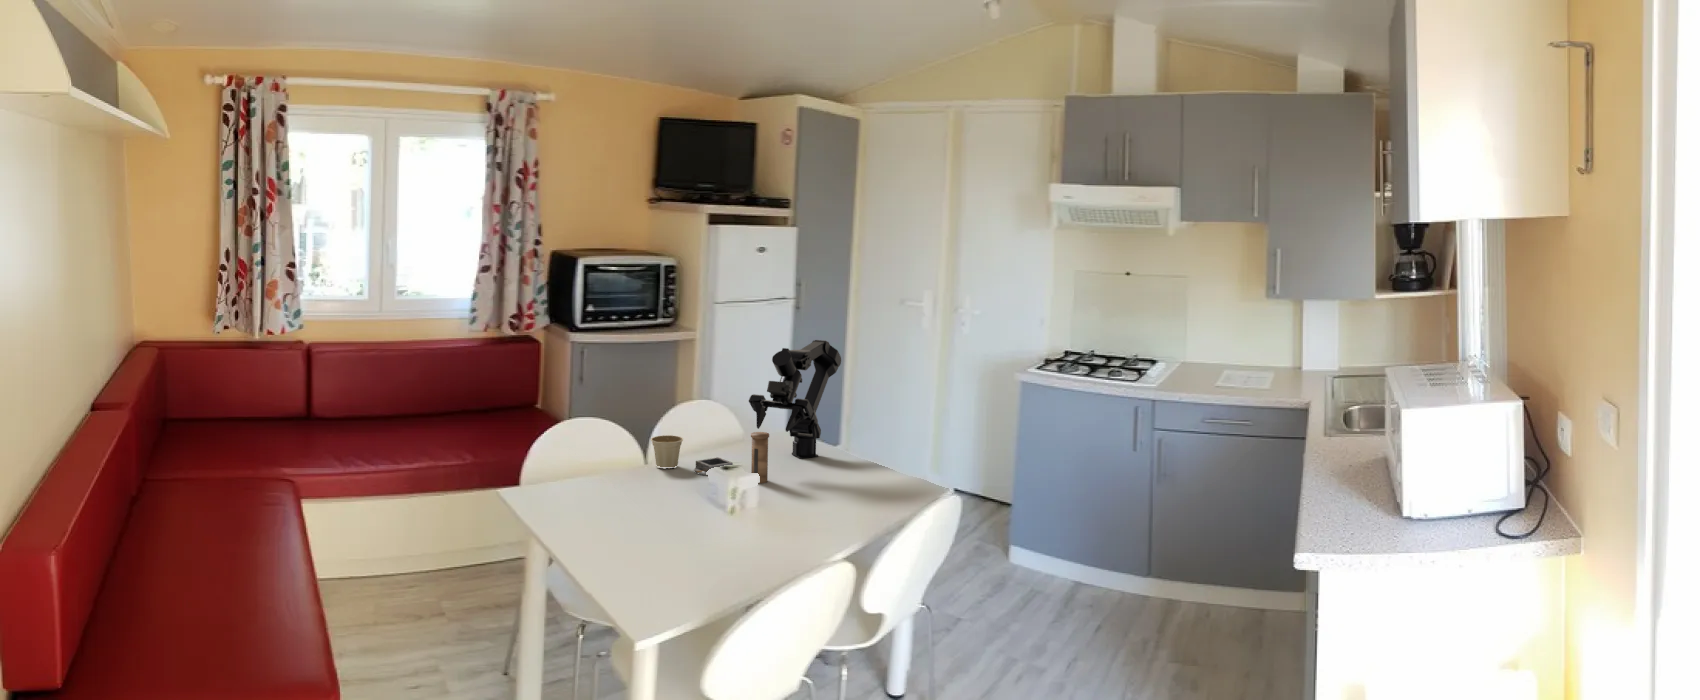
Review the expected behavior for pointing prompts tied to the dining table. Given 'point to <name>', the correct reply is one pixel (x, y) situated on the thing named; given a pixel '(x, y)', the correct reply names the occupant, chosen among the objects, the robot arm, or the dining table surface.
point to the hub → (709, 464)
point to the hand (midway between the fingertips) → (771, 429)
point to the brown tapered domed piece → (760, 455)
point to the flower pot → (667, 450)
